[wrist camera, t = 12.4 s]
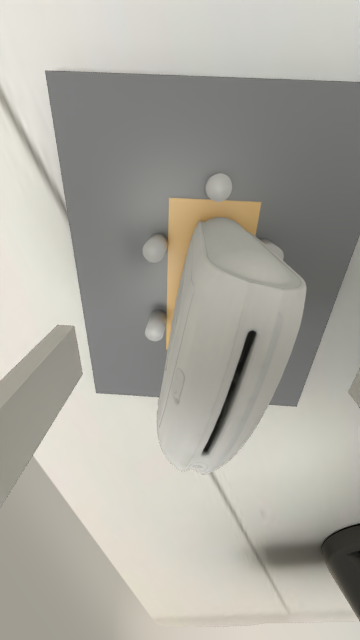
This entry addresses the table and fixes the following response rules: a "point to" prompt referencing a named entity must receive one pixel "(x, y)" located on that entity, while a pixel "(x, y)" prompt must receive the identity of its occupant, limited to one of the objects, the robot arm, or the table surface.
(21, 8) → the table surface
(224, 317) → the photo printer
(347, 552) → the robot arm
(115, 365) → the pin tray
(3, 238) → the table surface
